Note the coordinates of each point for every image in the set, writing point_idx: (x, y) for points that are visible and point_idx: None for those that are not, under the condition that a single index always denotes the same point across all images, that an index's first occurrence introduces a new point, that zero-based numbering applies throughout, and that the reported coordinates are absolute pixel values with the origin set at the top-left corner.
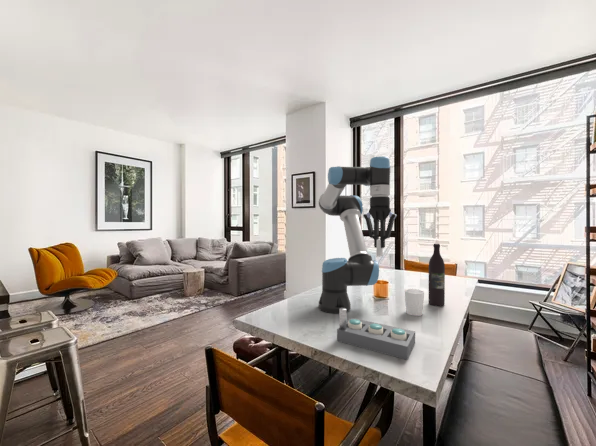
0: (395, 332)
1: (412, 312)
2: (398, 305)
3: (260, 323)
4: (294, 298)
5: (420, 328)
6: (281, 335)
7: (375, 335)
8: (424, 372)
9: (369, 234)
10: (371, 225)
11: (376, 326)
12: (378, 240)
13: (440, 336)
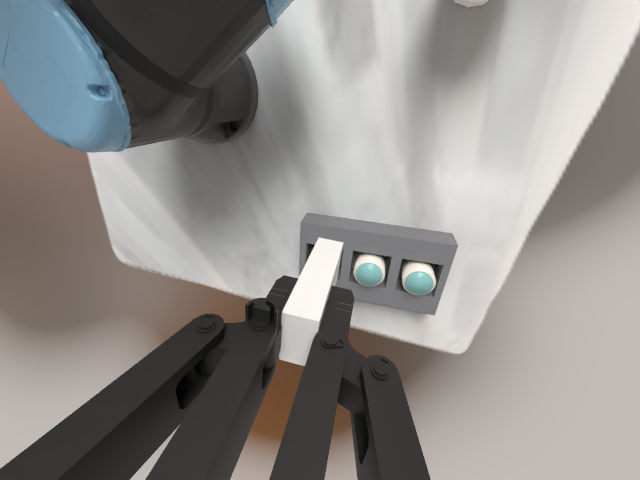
0: (412, 292)
1: (471, 4)
2: None
3: (156, 260)
4: None
5: (479, 135)
6: (218, 288)
7: (372, 292)
8: (455, 323)
9: (187, 380)
10: (89, 472)
11: (370, 277)
12: (298, 360)
13: (528, 170)
